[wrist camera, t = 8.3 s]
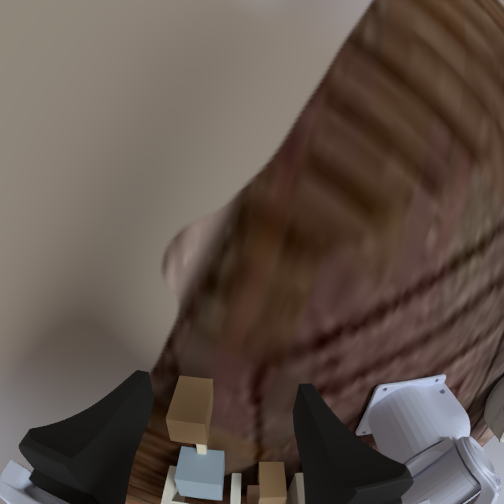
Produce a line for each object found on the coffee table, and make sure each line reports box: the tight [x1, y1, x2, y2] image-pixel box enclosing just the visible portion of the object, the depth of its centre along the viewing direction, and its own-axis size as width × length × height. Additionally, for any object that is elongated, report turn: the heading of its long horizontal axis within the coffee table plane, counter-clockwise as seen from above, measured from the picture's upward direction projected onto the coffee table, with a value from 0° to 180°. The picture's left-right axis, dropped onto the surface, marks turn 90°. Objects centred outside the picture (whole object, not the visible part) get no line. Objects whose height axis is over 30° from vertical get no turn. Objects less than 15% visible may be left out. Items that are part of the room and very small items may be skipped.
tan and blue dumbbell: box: [166, 376, 225, 500], centre depth 23 cm, size 5×17×6 cm, turn 177°
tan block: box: [246, 462, 287, 504], centre depth 26 cm, size 5×12×6 cm, turn 176°
